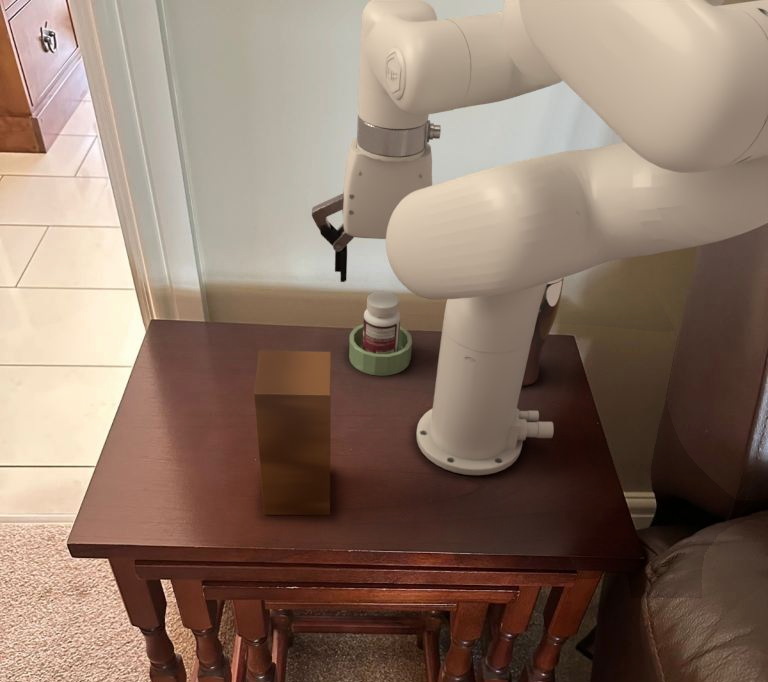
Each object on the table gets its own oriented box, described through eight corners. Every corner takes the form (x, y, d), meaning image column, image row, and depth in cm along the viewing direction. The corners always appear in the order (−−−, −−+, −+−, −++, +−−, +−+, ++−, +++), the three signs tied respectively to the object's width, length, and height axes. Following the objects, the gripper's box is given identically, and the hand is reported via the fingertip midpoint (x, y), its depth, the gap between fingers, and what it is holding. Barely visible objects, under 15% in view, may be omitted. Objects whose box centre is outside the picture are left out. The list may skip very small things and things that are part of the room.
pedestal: (330, 471, 88) (330, 351, 77) (329, 515, 83) (330, 394, 72) (268, 470, 88) (259, 350, 76) (264, 515, 83) (253, 393, 71)
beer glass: (540, 392, 100) (565, 288, 90) (486, 384, 101) (505, 279, 90) (543, 362, 105) (567, 259, 95) (492, 354, 106) (510, 251, 95)
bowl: (408, 341, 107) (409, 322, 105) (412, 376, 102) (414, 357, 99) (348, 339, 107) (349, 320, 105) (349, 375, 101) (349, 355, 99)
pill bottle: (371, 341, 106) (374, 285, 100) (403, 351, 105) (408, 295, 99) (355, 358, 103) (357, 302, 97) (388, 369, 102) (391, 313, 96)
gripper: (467, 125, 87) (448, 265, 99) (312, 117, 86) (312, 259, 98) (475, 152, 82) (454, 296, 94) (310, 144, 81) (311, 291, 93)
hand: (382, 277), depth 96 cm, fingers open, 9 cm apart
